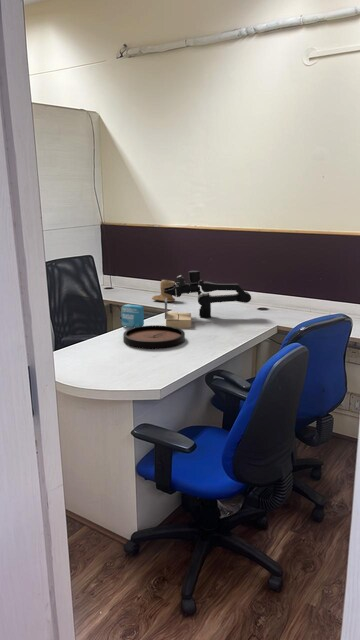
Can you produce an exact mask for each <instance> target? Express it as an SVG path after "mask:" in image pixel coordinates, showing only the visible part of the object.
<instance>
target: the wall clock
mask: <svg viewBox="0 0 360 640" xmlns="http://www.w3.org/2000/svg"><path fill="white" fill-rule="evenodd" d="M185 336H186V334H185V331H184V330H182V328H175V327H170V326H166V325H158V324H157V325H152V324H151V325H143V326H140V327H135V328H134V327H130V328H128V329H127V330H125V331H124V332H123V335H122V337H123V343H124V344H125V345H127V346H128V347H131V348H134V349H135V348H136V349H141V350H142V349H143V350H165V349H166V350H167V349H171V348H176V347H179V346H180V345H182V344H184V342H185V340H186V339H185V338H186V337H185Z"/></svg>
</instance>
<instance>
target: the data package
mask: <svg viewBox="0 0 360 640" xmlns="http://www.w3.org/2000/svg"><path fill="white" fill-rule="evenodd" d="M144 310H145V309H144V306H143V305H140V304H128V303H127V304H124V305H122V306H121V311H120V313H121V314H120V315H121V325H122V326H123V327H126V328H134V327H140V326H145V314H144V313H145V311H144Z"/></svg>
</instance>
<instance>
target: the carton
mask: <svg viewBox="0 0 360 640" xmlns="http://www.w3.org/2000/svg"><path fill="white" fill-rule="evenodd" d="M165 326H170V327H175V328H178V329H192V313H191V312H178V320H166V319H165Z"/></svg>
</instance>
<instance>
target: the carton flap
mask: <svg viewBox="0 0 360 640" xmlns="http://www.w3.org/2000/svg"><path fill="white" fill-rule="evenodd" d="M178 314H179V311H175V312H174V311H168V302H167V298H166V299H165V301H164V320H165V321H166V320H178Z"/></svg>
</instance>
